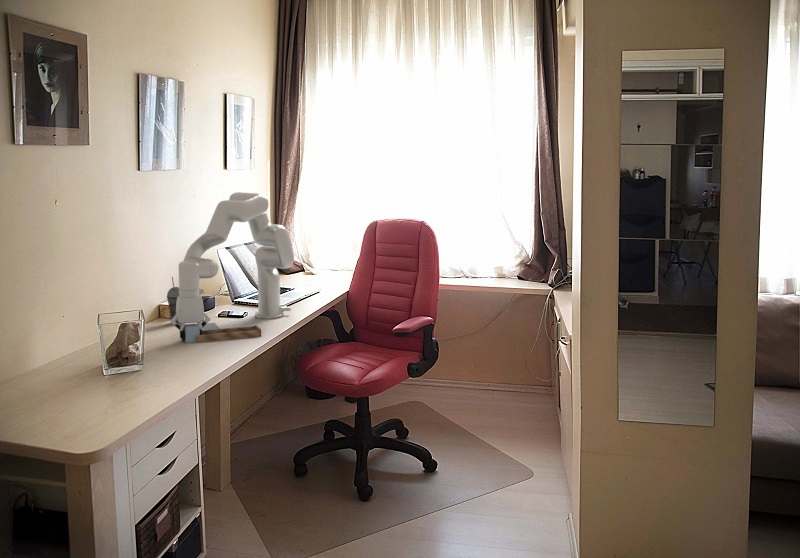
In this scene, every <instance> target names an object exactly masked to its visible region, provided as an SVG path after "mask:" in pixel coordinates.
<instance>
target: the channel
mask: <svg viewBox="0 0 800 558" xmlns="http://www.w3.org/2000/svg"><path fill="white" fill-rule="evenodd" d="M196 337H197V342H196V343H204V342H205V343H206V342H215V341H216V342H217V341H225V340H226V341H227V340H237V339H246V338H247V339H248V338H258V337H259V338H261V337H262V328H261V327H259V326H258V325H257V324H254V325H250V326H237V327H227V328H226V327H225V328H220V329H213V330H202V335H197V336H196Z"/></svg>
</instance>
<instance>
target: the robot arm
mask: <svg viewBox="0 0 800 558" xmlns="http://www.w3.org/2000/svg"><path fill="white" fill-rule="evenodd" d="M268 208H269V199H268V197H267V196H266V195H265V194H262V193H257V192H255V193H254V192H242V191H241V192H239V191H238V192H237V191H236V192H234V193H232V194H231V195H229V199H228V200H226V199H224V200H221V201H219V202H218V203H217V206H216V208H215V210H214V212H213V214H212V216H211V219H210V221H209V224H208V225H207V228H206V231H205V232H204V233H203V234H201V235H200V236H199V237H198V238H196V240H194V241H193V243H191V244H190V246H189V248H188V249H187V251H186V253H185V256H184V258H183V261H180V262H179V263H178V285H179V286H178V287H179V297H177V303H176V315H175V316H174V317H173V319H172V320H170V324H171V325H173V326H174V327H175V328H177V329H178V330H179V338H180V339H181V340H182V341H183V342H185V333H184V329H183V328H184V325H186V324H195V323H196V324H198V325H199V327H200V335H202V329H203V327H204V326H205V325H206V324H207V323H210V321H211V318H210V317H209V316H208V315H207V313H205V309H204V308H205V306H204V299H203V298H202V297H203V296H202V295H201V294H204V292H205V291H204V290H205V289H201V288H200V285H201V284H200V280H201V279H212V278H214V277H215V276H216V275H217V274H218V273H219V265H218V263H217V262H216V261H215V260H214V259H210V258H203V257H202V256H203V255H204V254H205V252H207V251H208V250H210V249H211V248H213V247H216V246H219V245H221V244H223V243H225V242H226V241H227V240H228V237H229V234H230V232H231V230H232V227H233V225H234V223H246V222H248V226H249V228H250V232H251V235H252V239H253V241H254V243H255V244H257V245H258V246H259V247H258V248H257V249H256V251H255V255H254V256H255V257H254V258H255V262H256V267H257V290H258V291H257V293H258V294H257V301H258V302H257V303H258V304H257V305H258V311H257V312H255V313H254V317H256V318H258V319H264V320H265V319H267V320H269V319H279V318H282V317H284V316H285V313H284V312H289V311H290V312H291V309H292V307H291V306H286V305H285V306H283V305H281V277H280V272H279V270H278V269H283V270H284V269H289V268H291V267H292V266H293V265H294V262H295V253H294V249H293V246H292V242H291V238H290V234H289V232H288V230H287V228H286V227H285V226H284V225H282V224H275V223H271V222H270V219H269V217H268V213H267V210H268ZM176 320H177V321H178V322H179V323H180V324H177V323H176V322H175V321H176Z"/></svg>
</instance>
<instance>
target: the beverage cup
mask: <svg viewBox="0 0 800 558" xmlns="http://www.w3.org/2000/svg"><path fill="white" fill-rule="evenodd" d="M171 280H172V281H171V282H172V288H169V290H168V291H167V294H166V298H167V299H166V300H167V302H168V303H167V304H168V309H169V319H170V321H171V320H172V319H173V317H174V316H175V315H176V303H177V297H179V286H178V287H177V286H175V281H174V277H173V276H171ZM175 322H176V323H177V324H179V325H180V323H179V322H178V321H177V320H176V321H175Z"/></svg>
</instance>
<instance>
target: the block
mask: <svg viewBox="0 0 800 558" xmlns="http://www.w3.org/2000/svg"><path fill="white" fill-rule="evenodd" d="M183 329H184V333H185V341H184V342H185V343H188V344H189V343H198V342H197V337H196V336H197V335H200V327H199V325H197V322H196V323H185V325H184V328H183Z"/></svg>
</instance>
